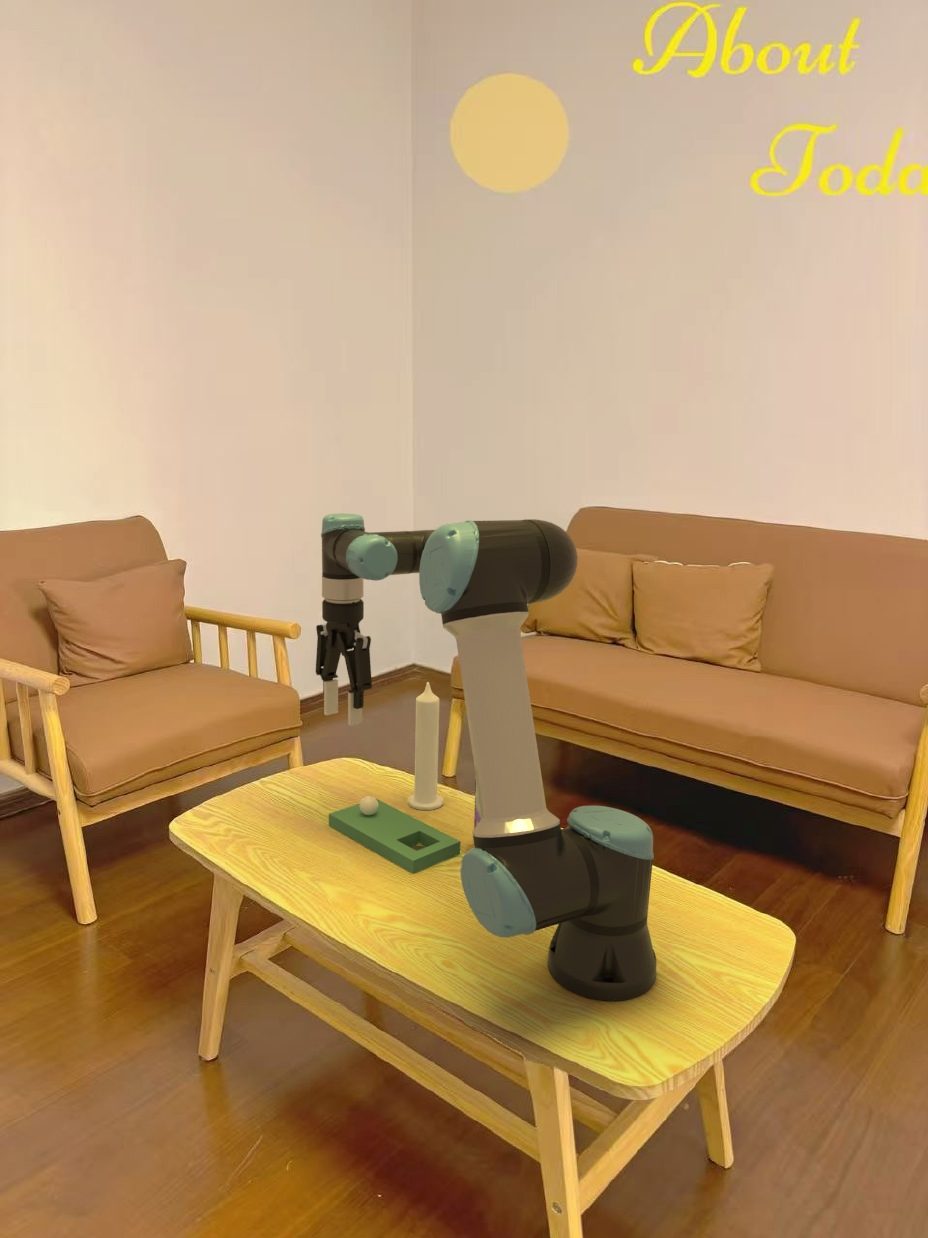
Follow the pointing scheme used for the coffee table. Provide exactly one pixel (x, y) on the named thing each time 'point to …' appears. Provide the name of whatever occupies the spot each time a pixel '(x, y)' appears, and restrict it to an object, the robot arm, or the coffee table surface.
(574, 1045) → the coffee table surface
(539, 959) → the coffee table surface
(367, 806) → the ball
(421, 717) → the candle
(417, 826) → the green hole board
